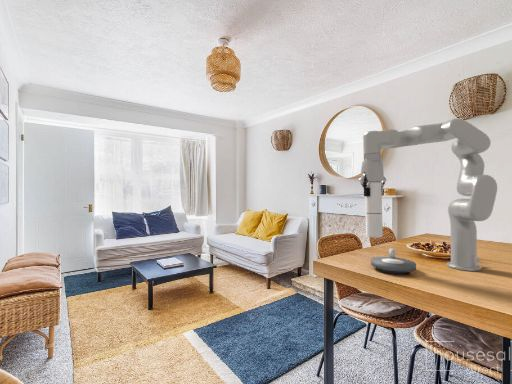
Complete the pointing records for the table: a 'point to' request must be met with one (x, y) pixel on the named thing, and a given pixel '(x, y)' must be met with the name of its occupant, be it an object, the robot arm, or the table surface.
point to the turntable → (393, 263)
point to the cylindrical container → (374, 211)
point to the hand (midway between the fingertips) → (373, 195)
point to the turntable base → (392, 271)
